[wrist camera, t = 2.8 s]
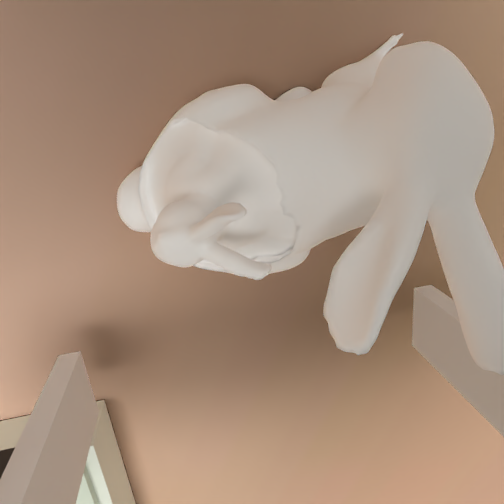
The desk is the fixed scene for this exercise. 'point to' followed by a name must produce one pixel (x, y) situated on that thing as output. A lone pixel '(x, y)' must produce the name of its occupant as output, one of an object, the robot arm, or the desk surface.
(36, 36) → the desk surface
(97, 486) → the tray
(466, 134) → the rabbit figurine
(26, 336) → the desk surface
